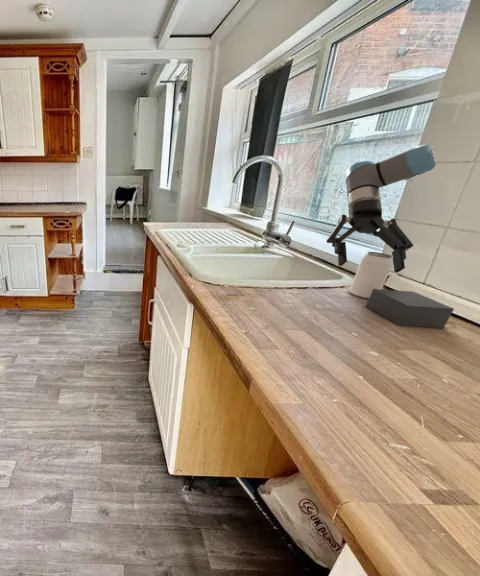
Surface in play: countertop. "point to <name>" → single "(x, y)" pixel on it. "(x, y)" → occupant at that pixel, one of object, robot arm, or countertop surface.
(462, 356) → the countertop surface
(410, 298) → the grey block
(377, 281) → the can
